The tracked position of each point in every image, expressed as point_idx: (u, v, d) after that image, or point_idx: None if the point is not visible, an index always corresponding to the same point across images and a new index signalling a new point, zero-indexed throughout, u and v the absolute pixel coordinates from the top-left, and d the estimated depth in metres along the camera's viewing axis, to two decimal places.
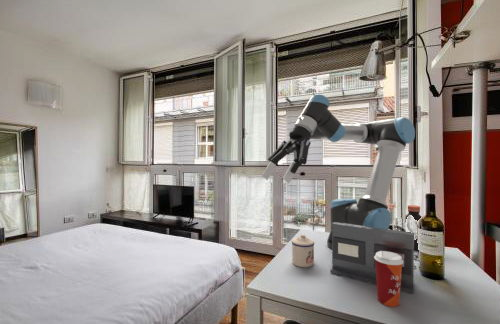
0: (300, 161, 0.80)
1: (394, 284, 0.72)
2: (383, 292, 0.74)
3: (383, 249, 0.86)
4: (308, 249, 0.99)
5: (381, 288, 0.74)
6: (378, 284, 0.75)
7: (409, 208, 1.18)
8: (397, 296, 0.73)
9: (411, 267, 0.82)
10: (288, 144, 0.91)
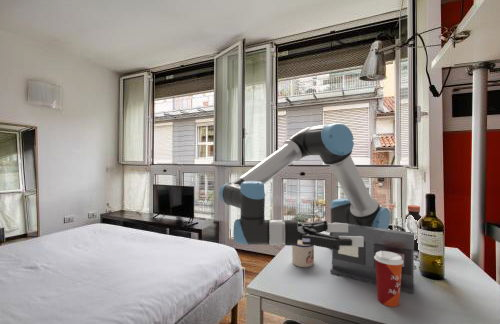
0: (338, 246, 0.67)
1: (394, 284, 0.72)
2: (383, 292, 0.74)
3: (383, 249, 0.86)
4: (308, 249, 0.99)
5: (381, 288, 0.74)
6: (378, 284, 0.75)
7: (409, 208, 1.18)
8: (397, 296, 0.73)
9: (411, 267, 0.82)
10: None
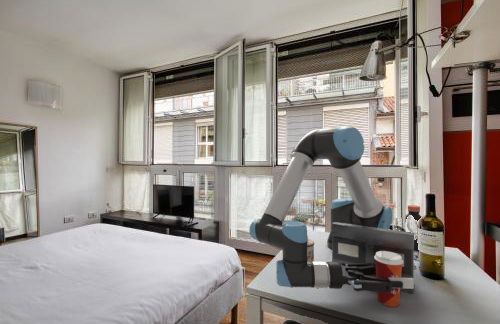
0: None
1: None
2: (383, 292, 0.74)
3: (383, 249, 0.86)
4: (308, 249, 0.99)
5: None
6: None
7: (409, 208, 1.18)
8: (397, 296, 0.73)
9: (411, 267, 0.82)
10: None
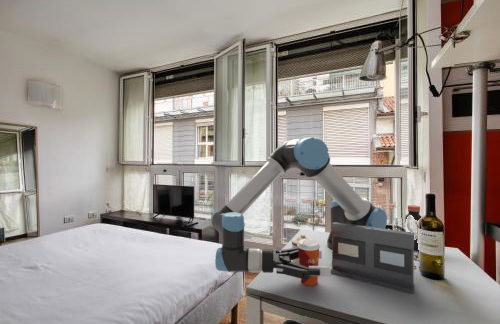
0: (307, 276, 0.75)
1: None
2: None
3: (383, 249, 0.86)
4: None
5: None
6: None
7: (409, 208, 1.18)
8: (314, 276, 0.85)
9: (411, 267, 0.82)
10: None
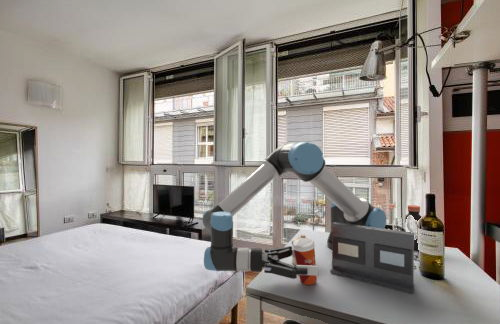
0: (295, 275, 0.75)
1: None
2: None
3: (383, 249, 0.86)
4: None
5: None
6: None
7: (409, 208, 1.18)
8: (312, 275, 0.85)
9: (411, 267, 0.82)
10: None
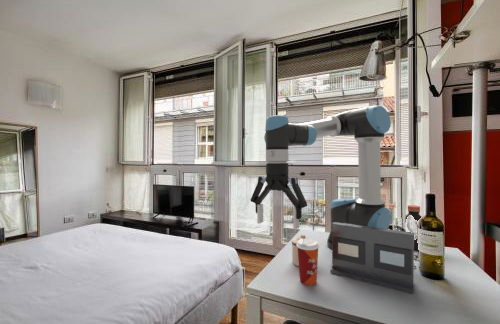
0: (303, 207, 0.79)
1: (311, 266, 0.84)
2: (303, 274, 0.86)
3: (383, 249, 0.86)
4: None
5: (302, 270, 0.86)
6: (299, 267, 0.87)
7: (409, 208, 1.18)
8: (314, 276, 0.85)
9: (411, 267, 0.82)
10: (271, 184, 0.84)
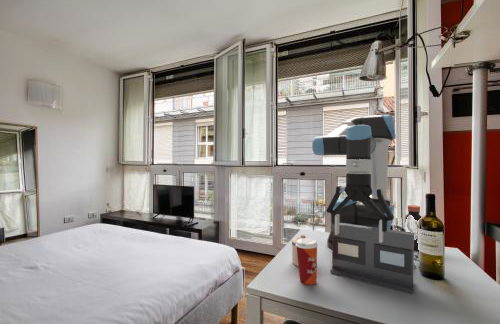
0: (391, 220, 0.77)
1: (311, 265, 0.85)
2: (303, 273, 0.86)
3: (383, 249, 0.86)
4: None
5: (302, 269, 0.86)
6: (299, 267, 0.87)
7: (409, 208, 1.18)
8: (314, 275, 0.86)
9: (411, 267, 0.82)
10: (353, 195, 0.82)
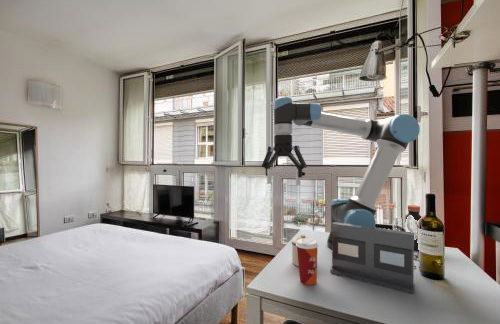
0: (303, 168, 1.02)
1: (312, 265, 0.85)
2: (304, 273, 0.86)
3: (383, 249, 0.86)
4: None
5: (302, 270, 0.86)
6: (300, 267, 0.87)
7: (409, 208, 1.18)
8: (315, 275, 0.86)
9: (411, 267, 0.82)
10: (278, 151, 1.07)
